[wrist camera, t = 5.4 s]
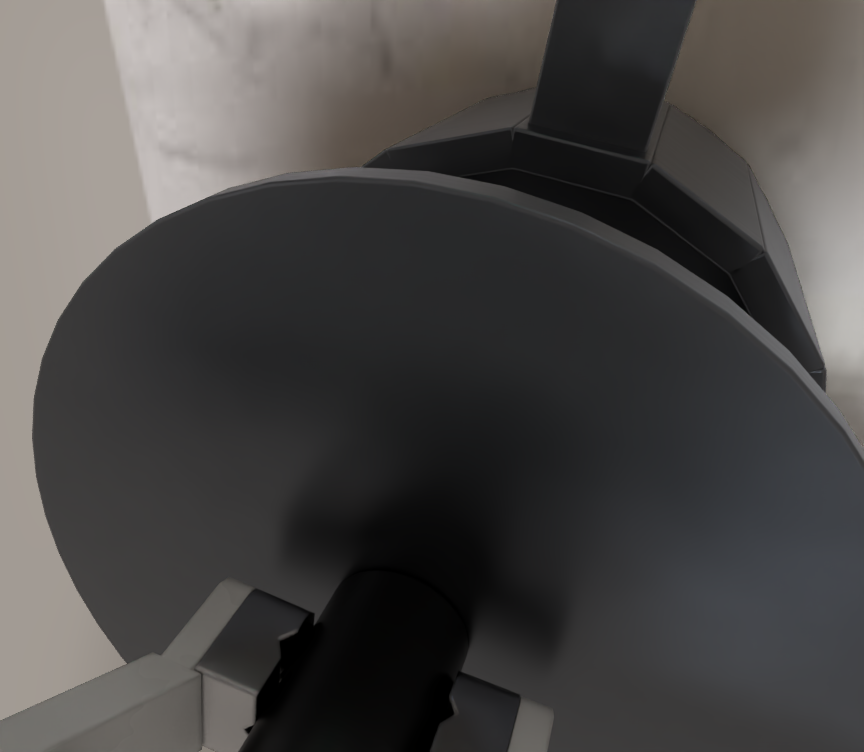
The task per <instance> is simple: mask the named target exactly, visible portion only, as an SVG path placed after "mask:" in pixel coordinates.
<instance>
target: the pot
mask: <svg viewBox="0 0 864 752" xmlns="http://www.w3.org/2000/svg"><path fill="white" fill-rule="evenodd" d="M695 4H696V0H557V1H556V6H555V10H554V14H553V18H552V23H551V27H550V31H549V36H548V40H547V44H546V49H545V53H544V57H543V61H542V66H541V70H540V74H539V79H538V83H537V87H536V88H531V89H527V90H523V91H520V92H516V93H511V94H506V95H501V96H496V97H490V98H487V99H485V100H482V101H480V102H479V103H477V104H475V105H473V106H471V107H469V108H467V109H465V110H463V111H461V112H459V113H457V114H455V115H453V116H451V117H449V118H447V119H445V120H443V121H441V122H439V123H437V124H435V125H433V126H431V127H429V128H427V129H425V130H423V131H421V132H419V133H417V134H415V135H413V136H411V137H409V138H407V139H405V140H403V141H401V142H399V143H397V144H395V145H393V146H391V147H389V148H387V149H386V150H384V151H382V152H381V153H380V154H378V155H377V156H376V157H374V158H373V159H371V160H370V161H369V162H367V163H366V164H364V165H363V166H362V167H363V168H381V169H399V170H416V171H430V172H435V173H440V174H445V175H450V176H455V177H460V178H465V179H470V180H475V181H480V182H485V183H490V184H495V185H500V186H505V187H508V188H511V189H514V190H517V191H520V192H523V193H526V194H529V195H532V196H535V197H538V198H540V199H543V200H546V201H549V202H552V203H555V204H558V205H561V206H564V207H567V208H570V209H573V210H576V211H579V212H582V213H584V214H586V215H588V216H590V217H592V218H594V219H596V220H598V221H600V222H602V223H604V224H606V225H608V226H610V227H612V228H614V229H616V230H618V231H621V232H623V233H625V234H627V235H629V236H631V237H633V238H635V239H637V240H639V241H641V242H643V243H645V244H647V245H649V246H651V247H653V248H655V249H657V250H659V251H660V252H662V253H663V254H665V255H666V256H668V257H669V258H671V259H672V260H674V261H675V262H677V263H678V264H680V265H681V266H683V267H684V268H686V269H687V270H689V271H690V272H692V273H693V274H695V275H696V276H698V277H699V278H701V279H702V280H704V281H705V282H707V283H708V284H710V285H711V286H713V287H714V288H716V289H717V290H719V291H720V292H722V293H723V294H725V295H726V296H728V297H729V298H730V299H731V300H732V301H733V302H735V303H736V304H737V305H738V306H739V307H740V308H741V309H743V310H744V311H745V312H746V313H747V314H748V315H749V316H750V317H752V318H753V319H754V320H755V321H756V322H757V323H758V324H760V325H761V326H762V327H763V328H764V329H765V330H766V331H767V332H769V333H770V334H771V335H772V336H773V337H774V338H775V339H777V340H778V341H779V342H780V343H781V344H782V345H783V346H785V347H786V348H787V349H788V350H789V351H790V352H791V353H792V355H793V356H794V357H795V358H796V359H797V360H798V362H799V363H800V364H801V365H802V366H803V368H804V369H805V370H806V371H807V372H808V373H809V375H810V376H811V377H812V378H813V379H814V380H815V382H816V383H817V384H818V385H819V386H820V387H821V389H822V390H823V391H824V392H825V393H826V368H825V363H824V359H823V356H822V353H821V350H820V346H819V343H818V340H817V337H816V333H815V330H814V327H813V324H812V320H811V317H810V314H809V311H808V307H807V304H806V301H805V298H804V294H803V291H802V288H801V285H800V281H799V278H798V275H797V272H796V268H795V265H794V262H793V259H792V255H791V252H790V249H789V246H788V243H787V241H786V239H785V237H784V234H783V232H782V230H781V228H780V226H779V224H778V222H777V220H776V218H775V216H774V214H773V212H772V210H771V208H770V205H769V203H768V200H767V198H766V197H765V195H764V193H763V192H762V190H761V188H760V186H759V184H758V182H757V180H756V178H755V176H754V174H753V172H752V170H751V168H750V166H749V165H748V164H746V161H745V160H744V159H742V158H741V157H740V156H739V155H737V154H736V153H735V152H733V150H731V149H730V148H729V147H728V146H727V145H726V144H725V143H724V142H723V141H721V140H720V139H719V138H718V137H717V136H716V135H715V134H714V133H713V132H711V131H710V130H709V129H708V128H706V127H705V126H703V125H702V124H700V123H699V122H697V121H696V120H694V119H693V118H691V117H690V116H688V115H687V114H685V113H684V112H682V111H680V110H679V109H678V108H677V107H675V106H674V105H670V103H668V102H664V99H665V96H666V93H667V90H668V86H669V83H670V80H671V77H672V74H673V71H674V68H675V65H676V62H677V59H678V56H679V53H680V50H681V47H682V43H683V40H684V37H685V34H686V31H687V28H688V25H689V22H690V19H691V16H692V13H693V10H694V7H695Z"/></svg>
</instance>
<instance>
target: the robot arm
mask: <svg viewBox="0 0 864 752" xmlns="http://www.w3.org/2000/svg"><path fill="white" fill-rule="evenodd" d="M314 617H315V613H313V612H311V611H309V610H306V609H304V608H302V607H299V606H297V605H295V604H292V603H290V602H288V601H285V600H283V599H281V598H278V597H276V596H274V595H271V594H269V593H267V592H264V591H262V590H260V589H258V588H256V587H253V586H251V585H248V584H246V583H244V582H241V581H239V580H236V579H234V578H231V577H228V578H226V579H225V580H224V581H222V582H221V583H219V584H218V586H217V587H216V588H215V589H214V591H213V592H212V593H211V594H210V596H209V597H208V598H207V599H206V600H205V602H204V603H203V604H202V605H201V607H200V608H199V609H198V610H197V612H196V613H195V614H194V615H193V617H192V618H191V619H190V620H189V622H188V623H187V624H186V625H185V627H184V628H183V629H182V630H181V631H180V633H179V634H178V635H177V636H176V638H175V639H174V640H173V641H172V643H171V644H170V645H169V646H168V648H167V649H166V650H165V651H164V653H163V654H162V655H158V654H156V653H153V652H152V653H150V654H148V655H146V656H143V657H141V658H139V659H137V660H134V661H132V662H130V663H128V664H126V665H123V666H121V667H119V668H117V669H115V670H112V671H110V672H108V673H105V674H103V675H101V676H99V677H97V678H94V679H92V680H90V681H88V682H85V683H83V684H81V685H79V686H77V687H74V688H72V689H70V690H68V691H65V692H63V693H61V694H59V695H57V696H54V697H52V698H50V699H47V700H45V701H43V702H41V703H39V704H36V705H34V706H32V707H30V708H27V709H25V710H23V711H21V712H18V713H16V714H14V715H12V716H10V717H7V718H5V719H3V720H1V721H0V752H199V751H200V750H202V746H204V747H206V748H208V749H211V750H213V751H215V752H238V751H239V749H240V748H241V746H242V745H243V743H244V741H245V740H246V738H247V736H248V735H249V733H250V731H251V730H252V728H253V726H254V725H255V723H256V721H257V720H258V718H259V716H260V715H261V713H262V711H263V710H264V708H265V706H266V705H267V703H268V701H269V700H270V698H271V696H272V695H273V693H274V691H275V690H276V688H277V686H278V685H279V683H280V681H281V680H282V678H283V677H284V675H285V673H286V672H287V670H288V668H289V667H290V665H291V663H292V662H293V660H294V658H295V657H296V655H297V653H298V652H299V650H300V648H301V647H302V645H303V643H304V642H305V640H306V638H307V637H308V635H309V633H310V632H311V630H312V628H313V627H314ZM553 720H554V713H553V708H550V707H548V706H545V705H543V704H540V703H537V702H535V701H532V700H530V699H527V698H524V697H522V696H521V697H520V694H518V693H515V692H513V691H510V690H507V689H505V688H502V687H500V686H497V685H495V684H492V683H489V682H487V681H484V680H482V679H479V678H477V677H474V676H471V675H469V674H466V673H464V672H461V671H458V673H457V676H456V678H455V681H454V684H453V687H452V689H451V692H450V695H449V698H448V701H447V704H446V707H445V710H444V714H443V717H442V720H441V723H440V724H439V726H438V729H437V731H436V734H435V737H434V740H433V743H432V746H431V749H430V752H547V750H548V745H549V740H550V735H551V730H552V725H553Z"/></svg>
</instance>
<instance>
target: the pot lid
mask: <svg viewBox="0 0 864 752" xmlns="http://www.w3.org/2000/svg"><path fill="white" fill-rule="evenodd" d="M32 441H33V450H34V460H35V470H36V478H37V483H38V487H39V491H40V495H41V499H42V504H43V508H44V512H45V515H46V519H47V521H48V524H49V527H50V530H51V533H52V535H53V538H54V541H55V544H56V546H57V549H58V552H59V554H60V556H61V558H62V560H63V562H64V564H65V566H66V569H67V570H68V573H69V575H70V577H71V579H72V581H73V583H74V585H75V587H76V589H77V591H78V593H79V594H80V596H81V597H82V599H83V601H84V603H85V604H86V606H87V607H88V609H89V611H90V612H91V614H92V616H93V617H94V619H95V620H96V622H97V624H98V625H99V627H100V628H101V630H102V631H103V632H104V633H105V635H106V636H107V638H108V639H109V641H110V642H111V643H112V645H113V646H114V647H115V649H116V650H117V652H118V653H119V654H120V656H121V657H122V658H123V659H124V661H125V662H126V663H127V664H128V663H130V662H132V661H134V660H137V659H139V658H141V657H143V656H146V655H148V654H150V653H152V652H153V653H156V654H158V655H162V654H163V653H164V651H165V650H166V649H167V648H168V646H169V645H170V644H171V643H172V641H173V640H174V639H175V638H176V636H177V635H178V634H179V633H180V631H181V630H182V629H183V628H184V627H185V625H186V624H187V623H188V622H189V620H190V619H191V618H192V617H193V615H194V614H195V613H196V612H197V610H198V609H199V608H200V607H201V605H202V604H203V603H204V602H205V600H206V599H207V598H208V597H209V596H210V594H211V593H212V592H213V591H214V589H215V588H216V587H217V586H218V584H219V583H221V582H222V581H224V580H225V579H226V578H228V577H231V578H234V579H236V580H239V581H241V582H244V583H246V584H248V585H251V586H253V587H256V588H258V589H260V590H262V591H264V592H267V593H269V594H271V595H274V596H276V597H278V598H281V599H283V600H285V601H288V602H290V603H292V604H295V605H297V606H299V607H302V608H304V609H306V610H309V611H311V612H313V613H315V617H314V627H313V628H312V630H311V632H310V633H309V635H308V637H307V638H306V640H305V642H304V643H303V645H302V647H301V648H300V650H299V652H298V653H297V655H296V657H295V658H294V660H293V662H292V663H291V665H290V667H289V668H288V670H287V672H286V673H285V675H284V677H283V678H282V680H281V681H280V683H279V685H278V686H277V688H276V690H275V691H274V693H273V695H272V696H271V698H270V700H269V701H268V703H267V705H266V706H265V708H264V710H263V711H262V713H261V715H260V716H259V718H258V720H257V721H256V723H255V725H254V726H253V728H252V730H251V731H250V733H249V735H248V736H247V738H246V740H245V741H244V743H243V745H242V746H241V748H240V749H239V751H238V752H430V749H431V746H432V743H433V740H434V737H435V734H436V731H437V729H438V726H439V724H440V723H441V720H442V717H443V714H444V710H445V707H446V704H447V701H448V698H449V695H450V692H451V689H452V687H453V684H454V681H455V678H456V676H457V673H458V671H461V672H464V673H466V674H469V675H471V676H474V677H477V678H479V679H482V680H484V681H487V682H489V683H492V684H495V685H497V686H500V687H502V688H505V689H507V690H510V691H513V692H515V693H518V694H520V697H521V696H522V697H524V698H527V699H530V700H532V701H535V702H537V703H540V704H543V705H545V706H548V707H550V708H553V713H554V720H553V725H552V730H551V735H550V740H549V745H548V750H547V752H864V449H863V447H862V446H861V444H860V442H859V441H858V439H857V437H856V436H855V434H854V433H853V431H852V429H851V428H850V426H849V424H848V423H847V421H846V420H845V418H844V416H843V415H842V413H841V411H840V410H839V409H838V407H837V406H836V405H835V404H834V403H833V402H832V400H831V399H830V398H829V397H828V396H827V394H826V393H825V392H824V391H823V390H822V389H821V387H820V386H819V385H818V384H817V383H816V382H815V380H814V379H813V378H812V377H811V376H810V375H809V373H808V372H807V371H806V370H805V369H804V368H803V366H802V365H801V364H800V363H799V362H798V360H797V359H796V358H795V357H794V356H793V355H792V353H791V352H790V351H789V350H788V349H787V348H786V347H785V346H783V345H782V344H781V343H780V342H779V341H778V340H777V339H775V338H774V337H773V336H772V335H771V334H770V333H769V332H767V331H766V330H765V329H764V328H763V327H762V326H761V325H760V324H758V323H757V322H756V321H755V320H754V319H753V318H752V317H750V316H749V315H748V314H747V313H746V312H745V311H744V310H743V309H741V308H740V307H739V306H738V305H737V304H736V303H735V302H733V301H732V300H731V299H730V298H729V297H728V296H726V295H725V294H723V293H722V292H720V291H719V290H717V289H716V288H714V287H713V286H711V285H710V284H708V283H707V282H705V281H704V280H702V279H701V278H699V277H698V276H696V275H695V274H693V273H692V272H690V271H689V270H687V269H686V268H684V267H683V266H681V265H680V264H678V263H677V262H675V261H674V260H672V259H671V258H669V257H668V256H666V255H665V254H663V253H662V252H660V251H659V250H657V249H655V248H653V247H651V246H649V245H647V244H645V243H643V242H641V241H639V240H637V239H635V238H633V237H631V236H629V235H627V234H625V233H623V232H621V231H618V230H616V229H614V228H612V227H610V226H608V225H606V224H604V223H602V222H600V221H598V220H596V219H594V218H592V217H590V216H588V215H586V214H584V213H582V212H579V211H576V210H573V209H570V208H567V207H564V206H561V205H558V204H555V203H552V202H549V201H546V200H543V199H540V198H538V197H535V196H532V195H529V194H526V193H523V192H520V191H517V190H514V189H511V188H508V187H505V186H500V185H495V184H490V183H485V182H480V181H475V180H470V179H465V178H460V177H455V176H450V175H445V174H440V173H435V172H430V171H416V170H399V169H381V168H363V167H349V168H338V169H327V170H316V171H305V172H294V173H286V174H282V175H278V176H275V177H271V178H267V179H263V180H259V181H255V182H251V183H247V184H243V185H239V186H235V187H231V188H228V189H226V190H223V191H221V192H219V193H217V194H214V195H212V196H210V197H207V198H205V199H203V200H201V201H198V202H196V203H194V204H192V205H189V206H187V207H185V208H183V209H180V210H178V211H176V212H174V213H171V214H169V215H167V216H165V217H162V218H160V219H158V220H156V221H155V222H153V223H152V224H150V225H149V226H148V227H146V228H145V229H143V230H142V231H140V232H139V233H138V234H136V235H135V236H133V237H132V238H130V239H129V240H127V241H126V242H124V243H123V244H121V245H120V246H118V247H117V248H116V249H115V250H114V251H113V252H112V253H111V254H110V255H109V256H108V257H107V258H106V259H105V260H104V261H103V262H102V263H101V264H100V265H99V266H98V267H97V268H96V269H95V270H94V271H93V272H92V273H91V274H90V275H89V276H88V277H87V278H86V279H85V280H84V281H83V282H82V284H81V286H80V287H79V289H78V290H77V292H76V293H75V295H74V296H73V298H72V299H71V301H70V302H69V304H68V306H67V307H66V309H65V310H64V312H63V313H62V315H61V316H60V318H59V319H58V321H57V323H56V326H55V328H54V331H53V333H52V336H51V338H50V341H49V343H48V346H47V348H46V351H45V353H44V355H43V358H42V362H41V366H40V371H39V376H38V381H37V386H36V390H35V395H34V407H33V429H32Z"/></svg>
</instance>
